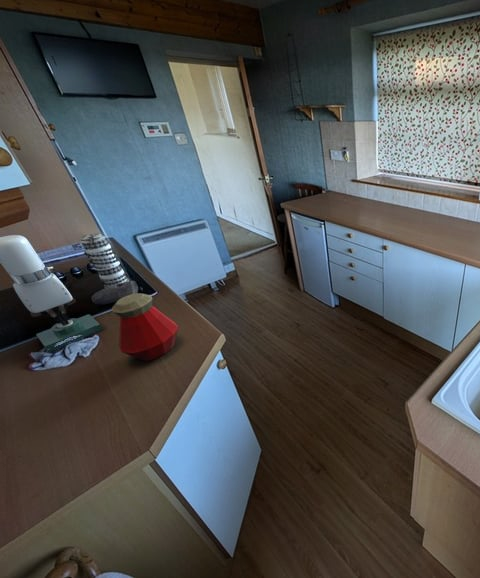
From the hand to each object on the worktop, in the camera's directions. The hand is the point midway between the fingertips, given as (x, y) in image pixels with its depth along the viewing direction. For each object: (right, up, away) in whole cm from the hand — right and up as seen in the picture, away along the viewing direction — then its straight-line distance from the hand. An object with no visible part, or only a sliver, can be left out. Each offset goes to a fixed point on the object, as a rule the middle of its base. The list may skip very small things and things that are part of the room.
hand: (65, 323), depth 99 cm
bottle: (+35, -8, -5) cm, 36 cm away
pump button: (0, -2, +1) cm, 2 cm away
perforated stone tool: (-1, +7, +21) cm, 22 cm away
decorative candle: (-8, +11, +29) cm, 32 cm away
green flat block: (0, -4, +2) cm, 5 cm away
